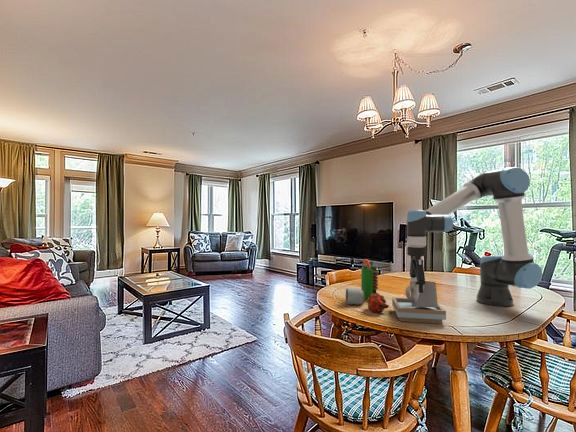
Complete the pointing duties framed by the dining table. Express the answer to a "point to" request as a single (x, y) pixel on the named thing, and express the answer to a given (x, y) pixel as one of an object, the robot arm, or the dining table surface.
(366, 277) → the green and brown toy
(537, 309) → the dining table surface
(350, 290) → the ceramic mug
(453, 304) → the dining table surface
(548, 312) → the dining table surface
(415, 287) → the coffee mug
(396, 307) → the picture frame
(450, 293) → the dining table surface
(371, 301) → the dragon fruit
